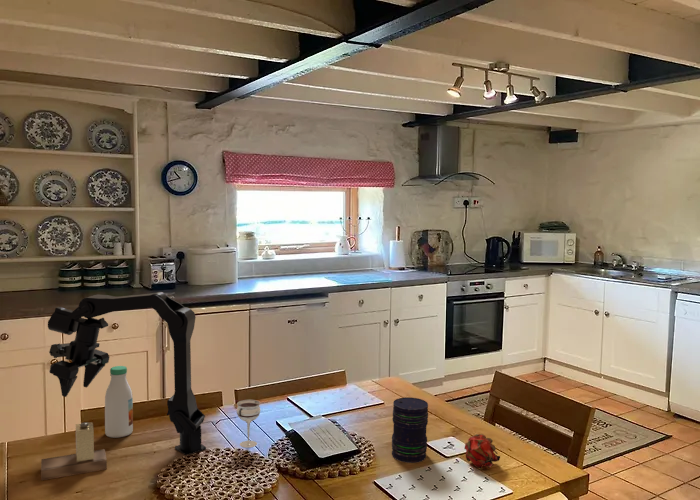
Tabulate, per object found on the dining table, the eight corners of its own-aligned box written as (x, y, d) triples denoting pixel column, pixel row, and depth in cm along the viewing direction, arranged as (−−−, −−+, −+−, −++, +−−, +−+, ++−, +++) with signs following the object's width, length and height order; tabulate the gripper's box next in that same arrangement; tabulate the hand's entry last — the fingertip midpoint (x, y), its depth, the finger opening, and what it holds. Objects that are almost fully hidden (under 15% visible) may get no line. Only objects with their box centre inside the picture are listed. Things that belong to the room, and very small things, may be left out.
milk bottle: (123, 439, 168) (122, 372, 166) (99, 436, 169) (98, 370, 168) (138, 429, 175) (137, 365, 174) (115, 427, 177) (114, 363, 175)
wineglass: (264, 442, 168) (265, 401, 167) (251, 450, 162) (251, 409, 161) (245, 437, 171) (245, 398, 170) (231, 446, 165) (231, 405, 164)
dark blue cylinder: (429, 451, 165) (431, 400, 164) (422, 465, 156) (424, 411, 154) (396, 445, 168) (397, 395, 167) (387, 459, 159) (388, 406, 158)
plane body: (104, 458, 156) (104, 449, 155) (106, 469, 149) (106, 459, 149) (41, 468, 149) (41, 459, 149) (41, 480, 143) (40, 470, 142)
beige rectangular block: (92, 451, 153) (92, 419, 152) (93, 459, 149) (93, 425, 148) (76, 454, 151) (75, 421, 151) (76, 461, 147) (76, 428, 146)
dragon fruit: (473, 459, 164) (490, 485, 152) (452, 444, 162) (466, 469, 150) (493, 436, 163) (510, 461, 152) (471, 421, 161) (487, 445, 149)
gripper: (82, 325, 172) (71, 374, 173) (37, 337, 154) (26, 392, 155) (115, 335, 170) (104, 385, 172) (74, 349, 152) (62, 405, 153)
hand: (75, 391), depth 163 cm, fingers open, 9 cm apart
